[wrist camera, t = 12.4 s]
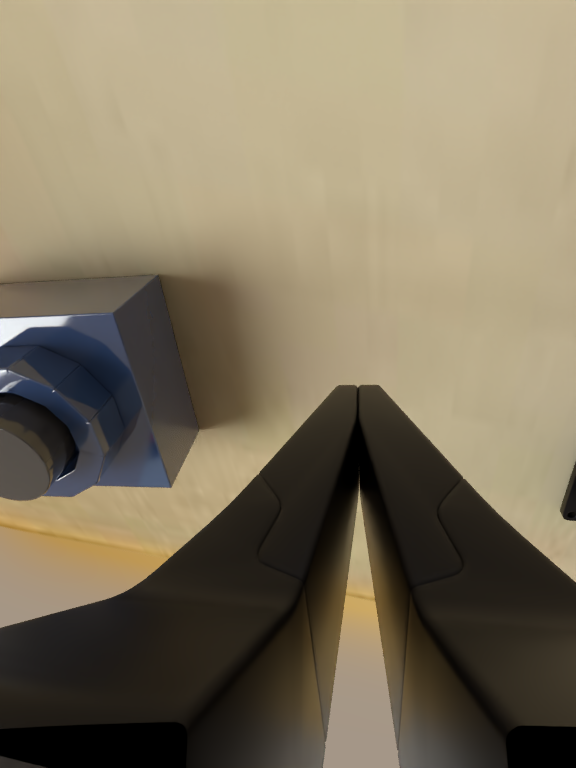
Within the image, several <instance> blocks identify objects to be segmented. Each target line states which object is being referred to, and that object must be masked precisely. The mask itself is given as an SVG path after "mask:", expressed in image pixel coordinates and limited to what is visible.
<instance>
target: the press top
mask: <svg viewBox="0 0 576 768" xmlns="http://www.w3.org/2000/svg"><path fill="white" fill-rule="evenodd" d="M74 454H75V441H74V439H73V437H72V435H71V433H70V431H69V428H68V427H67V426H66V425H65V424H64V423H63V422H62V421H60V420H59V419H58V418H57V417H56V416H55V415H54V414H53V413H52V412H50V411H49V410H48V409H47V408H46V407H45V406H43V405H41V404H38V403H36V402H33V401H31V400H29V399H26V398H24V397H21V396H19V395H14V394H5V395H0V497H3V498H6V499H11V500H17V501H28V500H33V499H36V498H39V497H41V496H42V495H44V494H45V493H46V492H47V491H48V489H49V488H50V487H51V486H52V484H53V483H54V482H55V481H56V479H57V478H58V477H59V476H60V474H61V473H62V472H63V471H64V470H65V468H66V467H67V466H68V465H69V463H70V462H71V461H72V459H73V457H74Z"/></svg>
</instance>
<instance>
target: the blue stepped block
mask: <svg viewBox="0 0 576 768" xmlns="http://www.w3.org/2000/svg"><path fill="white" fill-rule="evenodd" d="M5 394H14V395H19V396H21V397H24V398H26V399H29V400H31V401H33V402H36V403H38V404H41V405H43V406H45V407H46V408H47V409H48V410H49V411H50V412H52V413H53V414H54V415H55V416H56V417H57V418H58V419H59V420H60V421H62V422H63V423H64V424H65V425H66V426H67V427H68V428H69V431H70V433H71V435H72V437H73V439H74V441H75V454H74V457H73V459H72V461H71V462H70V463H69V465H68V466H67V467H66V468H65V470H64V471H63V472H62V473H61V474H60V476H59V477H58V478H57V479H56V481H55V482H54V483H53V484H52V486H51V487H50V488H49V489H48V491H47V492H46V493H45V494H44V495H42V496H56V497H73V496H75V495H77V494H79V493H81V492H83V491H84V490H86V489H88V488H90V487H92V486H124V487H161V488H171V487H172V485H173V483H174V481H175V479H176V477H177V475H178V473H179V471H180V469H181V467H182V465H183V463H184V461H185V459H186V457H187V455H188V452H189V450H190V448H191V446H192V444H193V442H194V440H195V438H196V436H197V434H198V432H199V429H198V425H197V421H196V417H195V413H194V409H193V406H192V402H191V398H190V394H189V390H188V387H187V383H186V379H185V375H184V371H183V368H182V364H181V360H180V356H179V352H178V348H177V345H176V341H175V337H174V333H173V329H172V326H171V322H170V318H169V314H168V310H167V307H166V303H165V299H164V295H163V291H162V287H161V284H160V280H159V276H158V275H142V276H125V277H108V278H92V279H75V280H58V281H41V282H25V283H8V284H0V395H5Z"/></svg>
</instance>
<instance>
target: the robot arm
mask: <svg viewBox="0 0 576 768" xmlns="http://www.w3.org/2000/svg"><path fill="white" fill-rule="evenodd" d="M359 484H360V497H361V505H362V512H363V519H364V526H365V532H366V539H367V546H368V553H369V560H370V567H371V573H372V580H373V587H374V594H375V601H376V608H377V614H378V621H379V628H380V635H381V642H382V648H383V655H384V662H385V669H386V675H387V683H388V689H389V696H390V703H391V710H392V717H393V724H394V730H395V737H396V744H397V750H398V758H399V765H400V768H576V582H575V581H573V580H572V579H571V578H570V577H569V576H568V575H566V574H565V573H564V572H563V571H562V570H561V569H560V568H558V567H557V566H556V565H555V564H554V563H553V562H552V561H550V560H549V559H548V558H547V557H546V556H545V555H544V554H542V553H541V552H540V551H539V550H538V549H537V548H536V547H534V546H533V545H532V544H531V543H530V542H529V541H528V540H526V539H525V538H524V537H523V536H522V535H521V534H520V533H519V532H517V531H516V530H515V529H514V528H513V527H512V526H511V525H510V524H509V523H508V522H507V521H505V520H504V519H503V518H502V517H501V516H500V515H499V514H498V513H497V512H496V511H495V510H494V509H493V508H492V507H491V506H490V505H489V504H488V503H487V502H486V501H485V500H484V499H483V498H482V497H481V496H480V495H479V494H478V493H477V492H476V491H475V489H474V488H473V487H472V486H471V485H470V484H469V483H468V482H467V481H466V480H465V479H463V477H462V475H461V474H460V473H459V472H458V471H457V470H456V469H455V468H454V467H453V466H452V465H451V463H450V462H449V461H448V460H447V459H446V458H445V457H444V456H443V455H442V454H441V453H440V451H439V450H438V449H437V448H436V447H435V446H434V445H433V444H432V443H431V442H430V440H429V439H428V438H427V437H426V436H425V435H424V434H423V433H422V432H421V431H420V430H419V428H418V427H417V426H416V425H415V424H414V423H413V422H412V421H411V420H410V419H409V418H408V416H407V415H406V414H405V413H404V412H403V411H402V410H401V409H400V408H399V407H398V406H397V404H396V403H395V402H394V401H393V400H392V399H391V398H390V397H389V396H388V395H387V393H386V392H385V391H384V390H383V389H382V388H381V387H380V386H379V385H360V386H359V387H357V386H355V385H339V386H337V387H336V388H335V389H334V390H333V391H332V392H331V393H330V394H329V396H328V397H327V398H326V399H325V400H324V401H323V402H322V403H321V404H320V406H319V407H318V408H317V409H316V410H315V411H314V412H313V413H312V415H311V416H310V417H309V418H308V419H307V420H306V421H305V422H304V423H303V425H302V426H301V427H300V428H299V429H298V430H297V431H296V432H295V433H294V435H293V436H292V437H291V438H290V439H289V440H288V441H287V442H286V444H285V445H284V446H283V447H282V448H281V449H280V450H279V451H278V452H277V454H276V455H275V456H274V457H273V458H272V459H271V460H270V461H269V462H268V464H267V465H266V466H265V467H264V468H263V469H262V470H261V471H260V473H259V475H257V476H256V477H255V478H254V479H253V480H252V481H251V482H250V483H249V485H248V486H247V487H246V488H245V489H244V490H243V491H242V492H241V493H240V494H239V495H238V496H237V497H236V498H235V499H234V500H233V501H232V502H231V503H230V504H229V505H228V506H227V507H226V508H225V509H224V510H223V511H222V512H221V513H220V514H219V515H218V516H216V517H215V518H214V519H213V520H212V521H211V522H210V523H209V524H208V525H207V526H206V527H204V528H203V529H202V530H201V531H200V532H199V533H198V534H196V535H195V536H194V537H193V538H192V539H191V540H190V541H188V542H187V543H186V544H185V545H184V546H183V547H182V548H181V549H179V550H178V551H177V552H176V553H175V554H174V555H173V556H171V557H170V558H169V559H168V560H167V561H166V562H165V563H164V564H162V565H161V566H160V567H159V568H158V569H157V570H156V571H155V572H153V573H152V574H151V575H149V576H148V577H147V578H146V579H144V580H143V581H142V582H140V583H139V584H137V585H136V586H134V587H133V588H131V589H129V590H128V591H126V592H124V593H121V594H119V595H117V596H114V597H112V598H109V599H106V600H102V601H99V602H95V603H91V604H87V605H84V606H80V607H76V608H72V609H69V610H66V611H62V612H58V613H54V614H50V615H47V616H43V617H39V618H35V619H32V620H28V621H24V622H21V623H17V624H13V625H10V626H6V627H2V628H0V768H323V761H324V753H325V742H326V738H327V730H328V722H329V715H330V708H331V700H332V693H333V685H334V677H335V670H336V662H337V654H338V647H339V640H340V632H341V624H342V617H343V609H344V602H345V594H346V587H347V579H348V571H349V564H350V556H351V549H352V541H353V534H354V526H355V518H356V511H357V503H358V494H359ZM560 512H561V514H562V516H563V518H564V519H566V520H570V521H576V462H575V465H574V468H573V472H572V475H571V478H570V481H569V484H568V487H567V490H566V493H565V496H564V499H563V503H562V506H561V509H560Z"/></svg>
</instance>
